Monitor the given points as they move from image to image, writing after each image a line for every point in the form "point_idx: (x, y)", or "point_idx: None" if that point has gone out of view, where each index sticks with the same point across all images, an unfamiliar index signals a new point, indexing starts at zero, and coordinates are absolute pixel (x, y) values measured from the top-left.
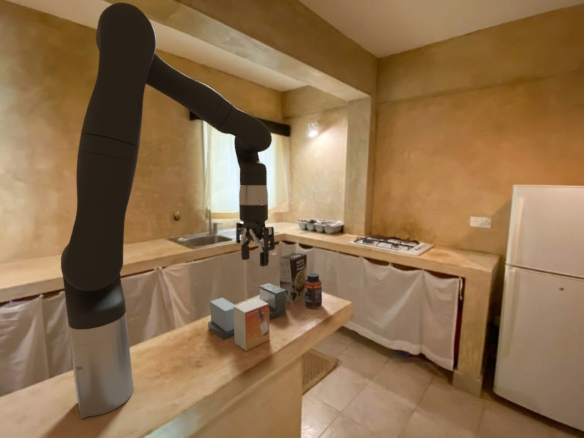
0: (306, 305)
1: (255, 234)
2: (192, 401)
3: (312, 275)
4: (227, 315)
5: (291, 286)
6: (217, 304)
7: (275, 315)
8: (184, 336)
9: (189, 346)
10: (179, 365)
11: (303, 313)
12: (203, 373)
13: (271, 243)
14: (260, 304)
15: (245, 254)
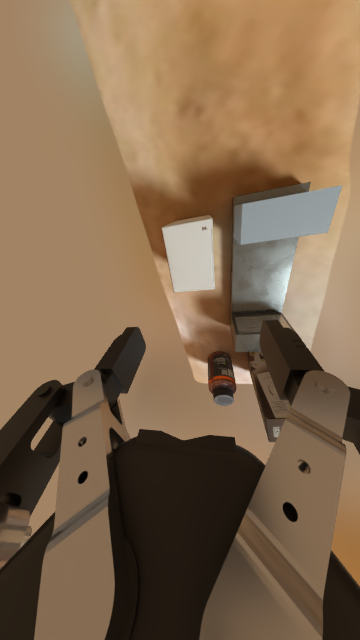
0: (221, 353)
1: (60, 518)
2: (93, 56)
3: (221, 398)
4: (240, 210)
5: (255, 368)
6: (298, 199)
7: (230, 310)
8: (324, 101)
9: (268, 104)
10: (212, 48)
11: (212, 340)
12: (157, 111)
13: (54, 437)
14: (178, 277)
15: (269, 346)
